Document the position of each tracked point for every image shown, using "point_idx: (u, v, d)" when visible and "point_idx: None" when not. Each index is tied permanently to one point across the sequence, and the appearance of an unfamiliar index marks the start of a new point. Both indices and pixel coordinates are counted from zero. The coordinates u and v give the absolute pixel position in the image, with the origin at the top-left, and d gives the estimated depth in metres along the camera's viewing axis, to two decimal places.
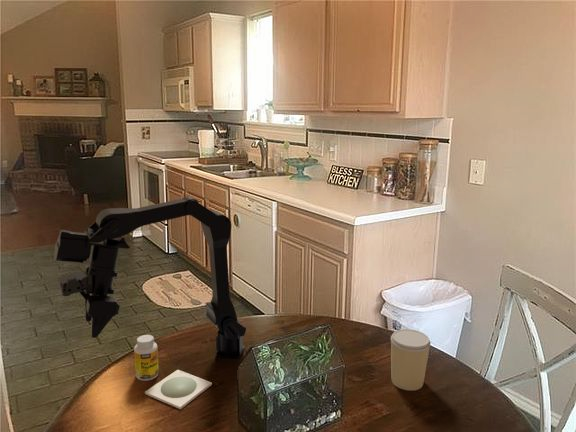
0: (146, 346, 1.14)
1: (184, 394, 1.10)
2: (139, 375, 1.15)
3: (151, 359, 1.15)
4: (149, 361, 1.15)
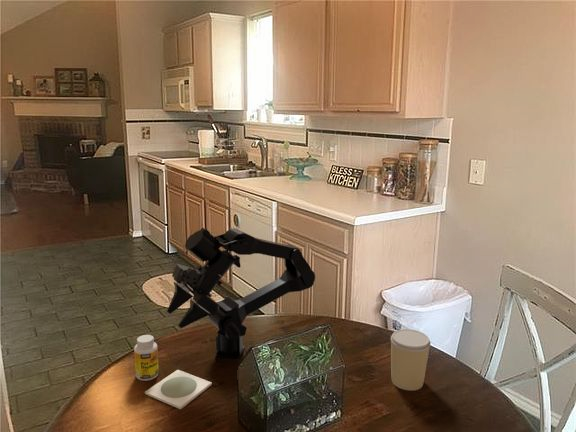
0: (146, 346, 1.14)
1: (184, 394, 1.10)
2: (139, 375, 1.15)
3: (151, 359, 1.15)
4: (149, 361, 1.15)
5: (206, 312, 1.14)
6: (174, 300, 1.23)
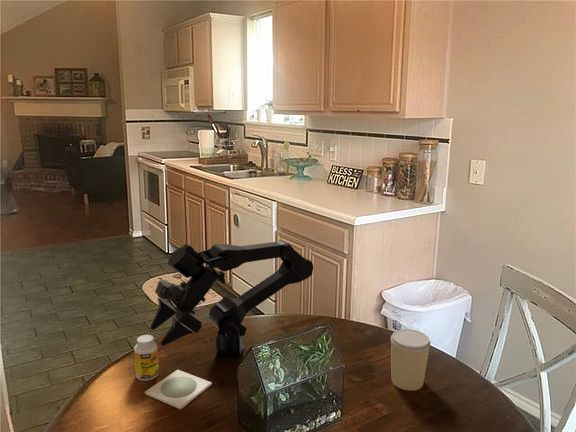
0: (146, 346, 1.14)
1: (184, 394, 1.10)
2: (139, 375, 1.15)
3: (151, 359, 1.15)
4: (149, 361, 1.15)
5: (189, 330, 1.13)
6: (157, 316, 1.21)
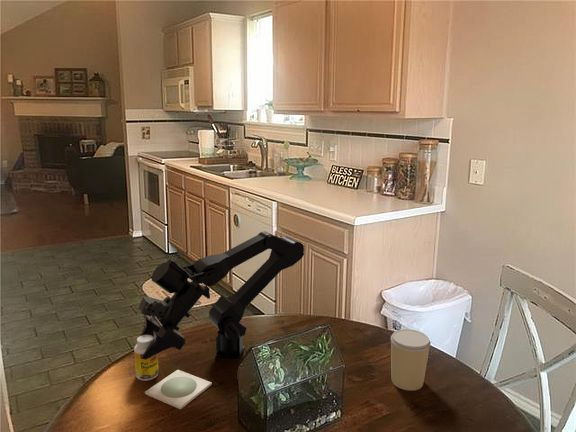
0: (146, 346, 1.14)
1: (184, 394, 1.10)
2: (139, 374, 1.15)
3: (151, 359, 1.15)
4: (149, 361, 1.15)
5: (170, 344, 1.13)
6: None
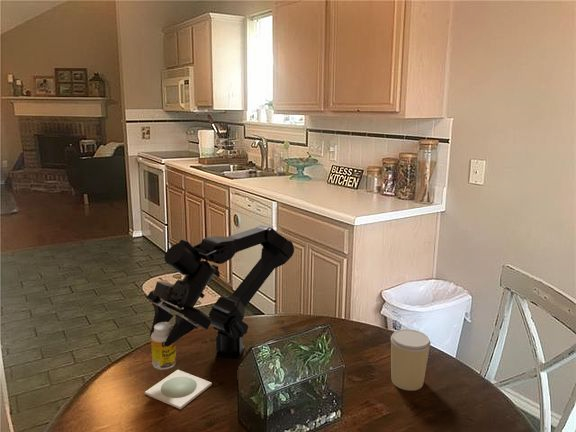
0: (167, 333, 1.09)
1: (184, 394, 1.10)
2: (160, 364, 1.10)
3: (172, 345, 1.10)
4: (170, 348, 1.10)
5: (194, 325, 1.10)
6: (156, 323, 1.13)
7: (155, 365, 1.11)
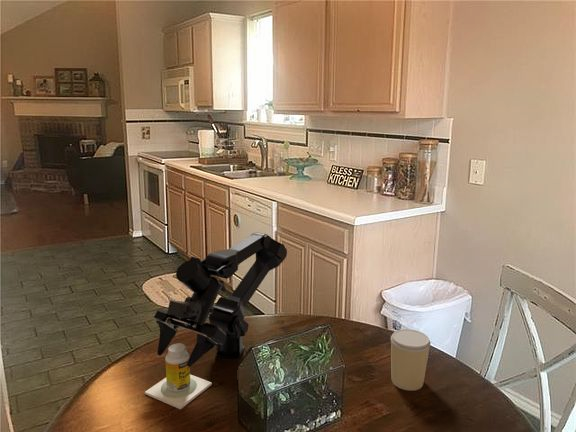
0: (182, 354, 1.10)
1: (184, 394, 1.10)
2: (176, 386, 1.10)
3: (188, 366, 1.11)
4: (186, 369, 1.10)
5: (215, 343, 1.10)
6: (163, 340, 1.13)
7: (171, 388, 1.10)
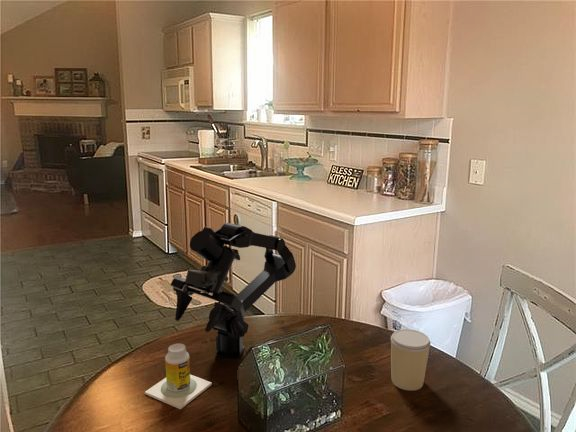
0: (182, 354, 1.10)
1: (184, 394, 1.10)
2: (176, 386, 1.10)
3: (188, 366, 1.11)
4: (186, 369, 1.10)
5: (231, 310, 1.15)
6: (180, 306, 1.18)
7: (171, 388, 1.10)
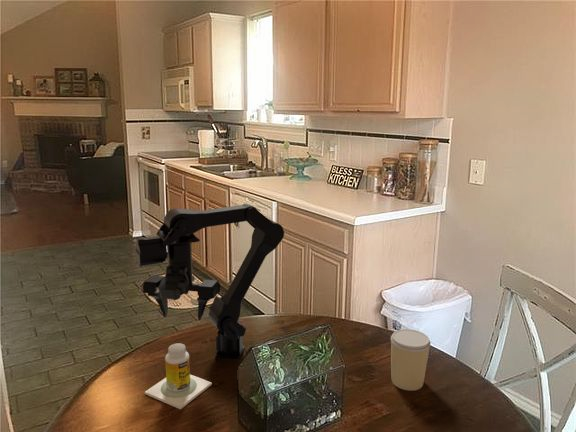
0: (182, 354, 1.10)
1: (184, 394, 1.10)
2: (176, 386, 1.10)
3: (188, 366, 1.11)
4: (186, 369, 1.10)
5: None
6: (163, 305, 1.20)
7: (171, 388, 1.10)
